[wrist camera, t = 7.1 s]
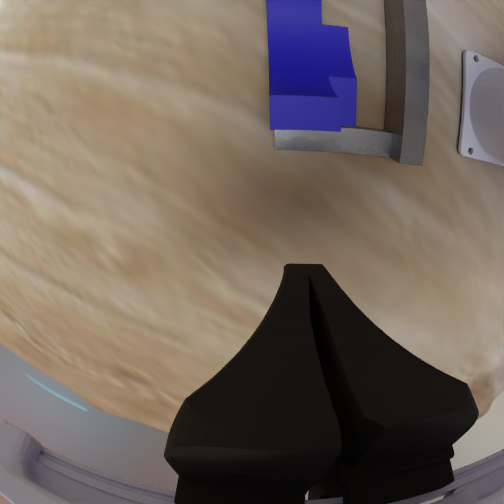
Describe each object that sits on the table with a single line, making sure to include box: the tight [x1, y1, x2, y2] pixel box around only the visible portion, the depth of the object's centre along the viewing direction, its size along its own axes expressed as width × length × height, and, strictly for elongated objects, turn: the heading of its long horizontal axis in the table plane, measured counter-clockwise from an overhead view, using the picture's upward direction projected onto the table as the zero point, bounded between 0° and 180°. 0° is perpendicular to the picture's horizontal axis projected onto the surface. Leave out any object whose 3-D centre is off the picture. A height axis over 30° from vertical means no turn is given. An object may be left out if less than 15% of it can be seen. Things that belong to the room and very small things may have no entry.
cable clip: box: [267, 0, 357, 132], centre depth 11 cm, size 12×4×6 cm, turn 2°
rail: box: [274, 0, 429, 166], centre depth 11 cm, size 8×18×3 cm, turn 1°
